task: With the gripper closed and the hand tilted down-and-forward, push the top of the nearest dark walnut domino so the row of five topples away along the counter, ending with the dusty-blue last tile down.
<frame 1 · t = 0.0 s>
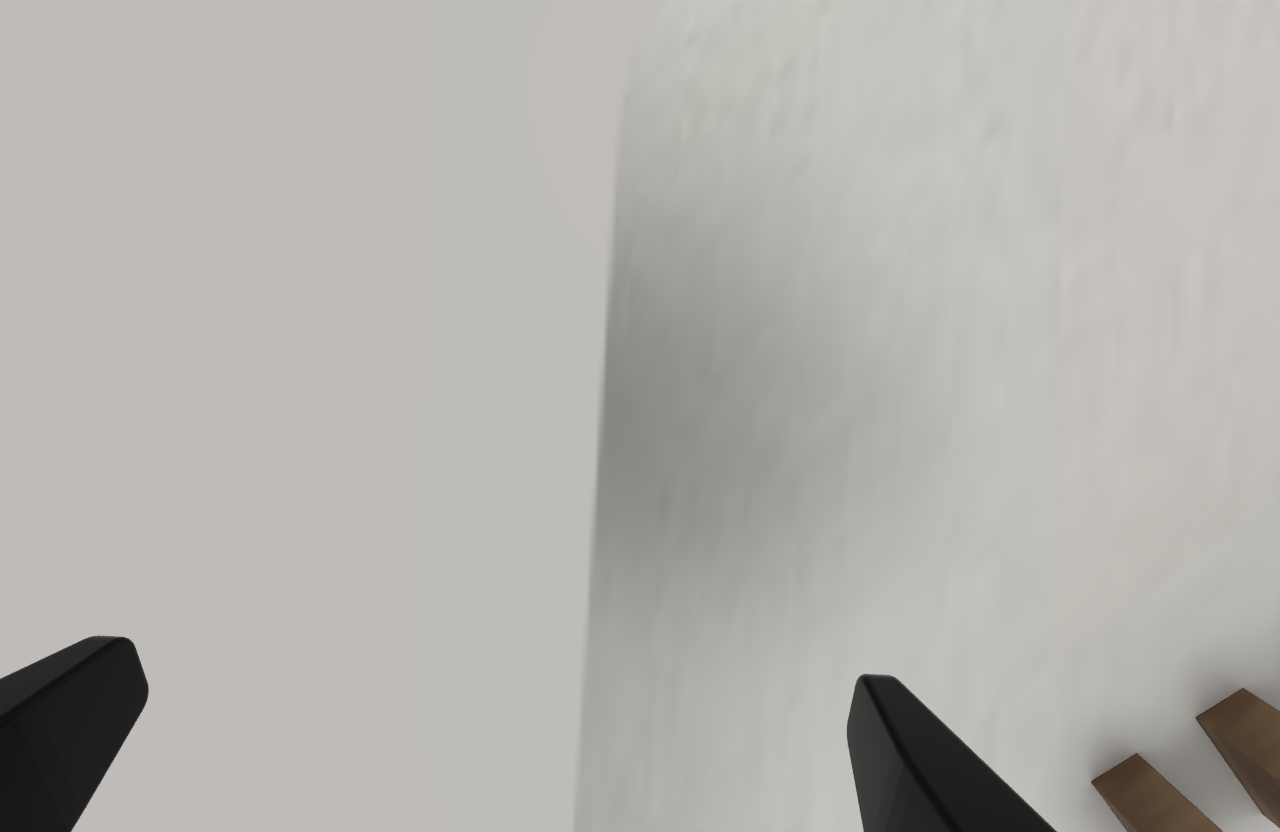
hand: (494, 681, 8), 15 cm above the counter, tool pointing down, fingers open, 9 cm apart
domino 2: (1253, 752, 25), on the counter
domino 1: (1148, 815, 25), on the counter
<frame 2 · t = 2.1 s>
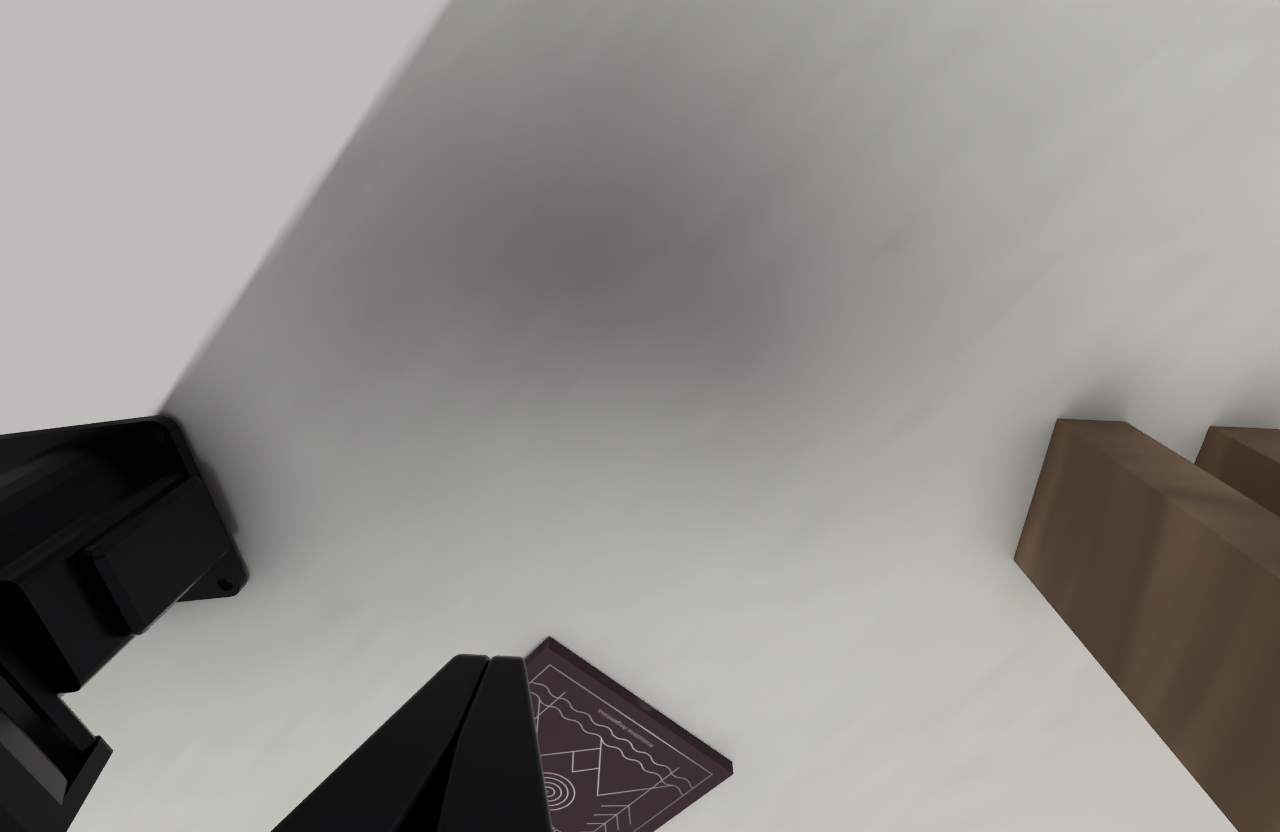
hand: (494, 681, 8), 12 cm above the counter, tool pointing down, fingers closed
domino 2: (1212, 501, 20), on the counter
chocolate bar: (502, 806, 28), on the counter
domino 1: (1066, 494, 20), on the counter
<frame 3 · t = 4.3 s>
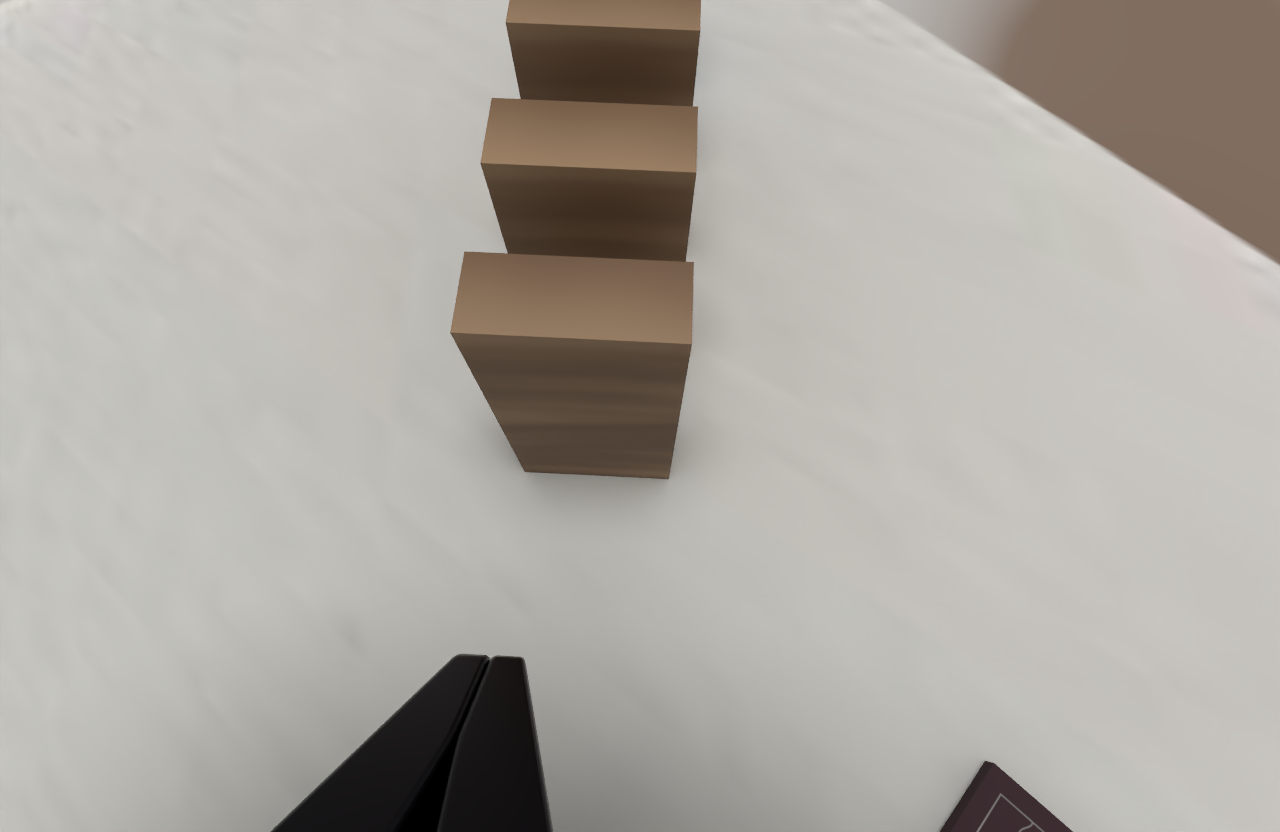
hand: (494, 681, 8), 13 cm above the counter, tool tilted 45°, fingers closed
domino 2: (607, 336, 25), on the counter
domino 3: (615, 235, 27), on the counter
domino 1: (598, 448, 23), on the counter
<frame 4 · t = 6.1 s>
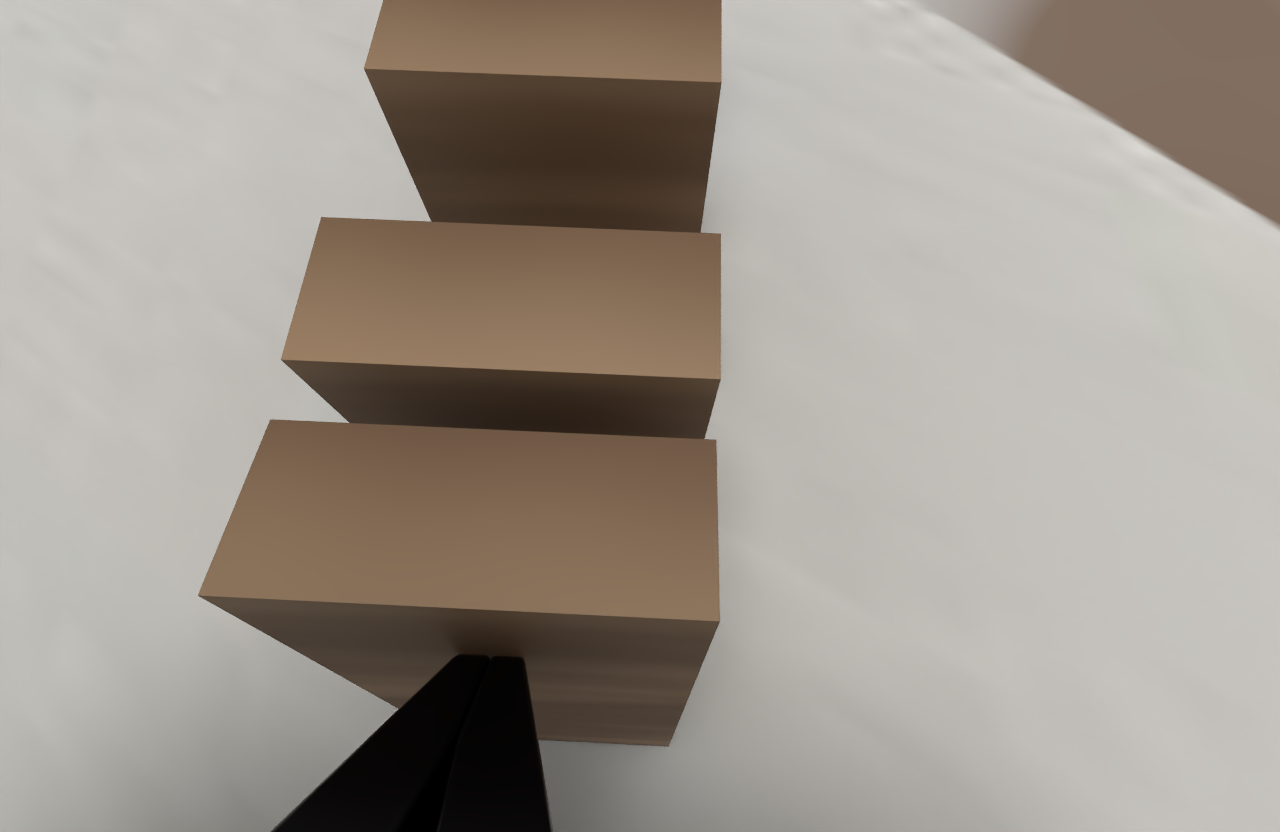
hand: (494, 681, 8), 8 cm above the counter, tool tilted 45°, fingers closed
domino 2: (578, 506, 17), on the counter
domino 3: (592, 349, 19), on the counter
domino 1: (561, 692, 15), on the counter, tilted 10°
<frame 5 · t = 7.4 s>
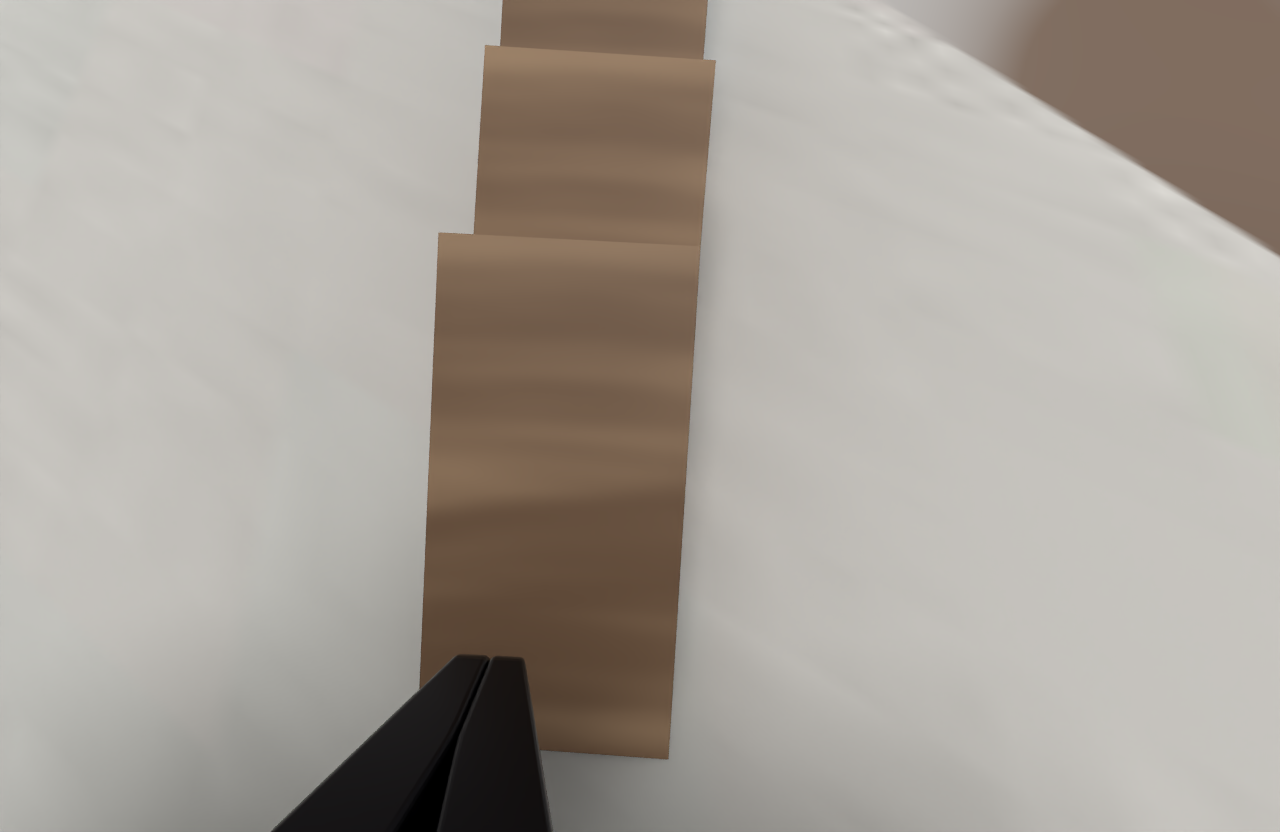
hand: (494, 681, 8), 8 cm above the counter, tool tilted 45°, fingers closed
domino 2: (573, 500, 16), point 1 cm above the counter, tilted 65°, touching domino 1, domino 3
domino 3: (588, 318, 18), point 1 cm above the counter, tilted 65°, touching domino 2, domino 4
domino 1: (550, 723, 14), point 1 cm above the counter, tilted 65°, touching domino 2
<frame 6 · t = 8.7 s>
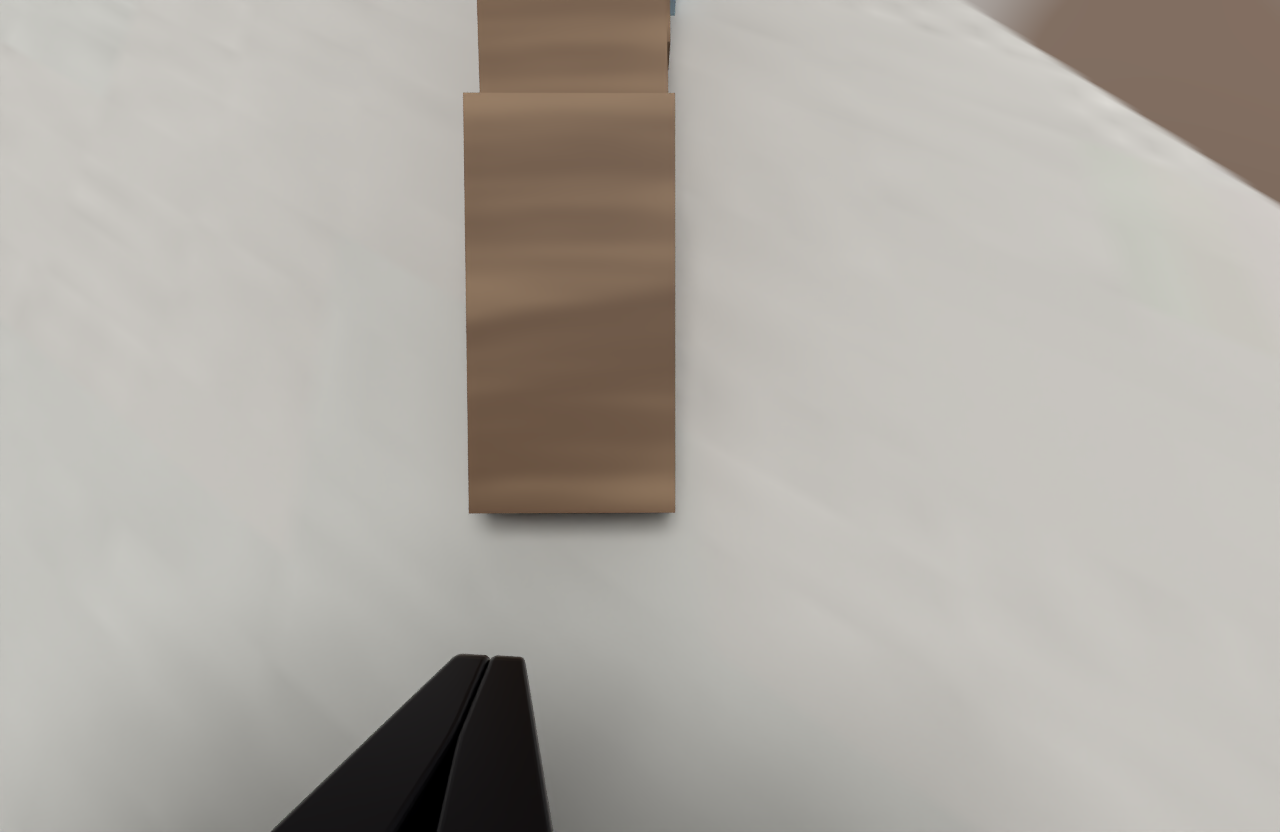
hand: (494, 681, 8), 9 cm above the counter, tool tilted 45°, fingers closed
domino 2: (582, 325, 19), point 1 cm above the counter, tilted 67°, touching domino 1, domino 3
domino 1: (575, 505, 17), point 1 cm above the counter, tilted 67°, touching domino 2
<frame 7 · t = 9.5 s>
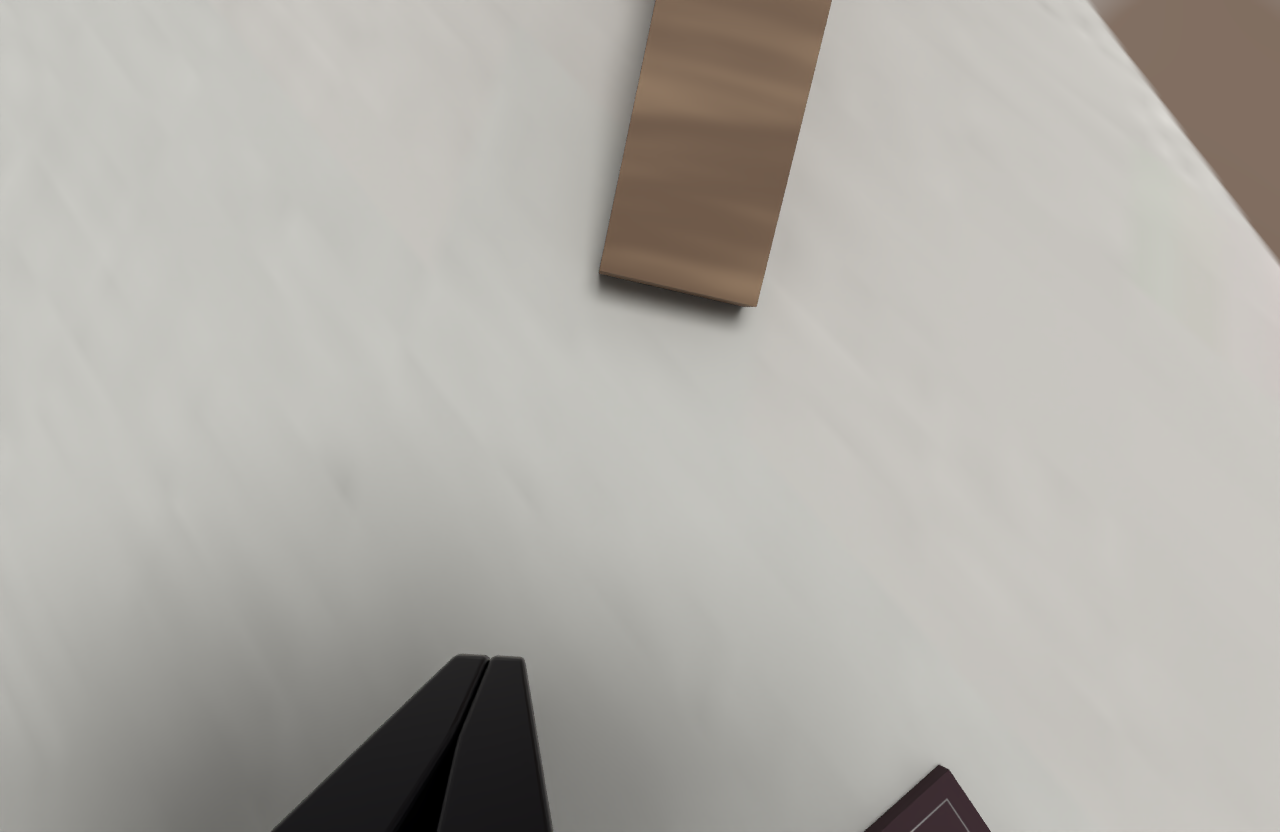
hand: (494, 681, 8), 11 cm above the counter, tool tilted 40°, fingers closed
domino 1: (674, 289, 21), point 1 cm above the counter, tilted 67°, touching domino 2
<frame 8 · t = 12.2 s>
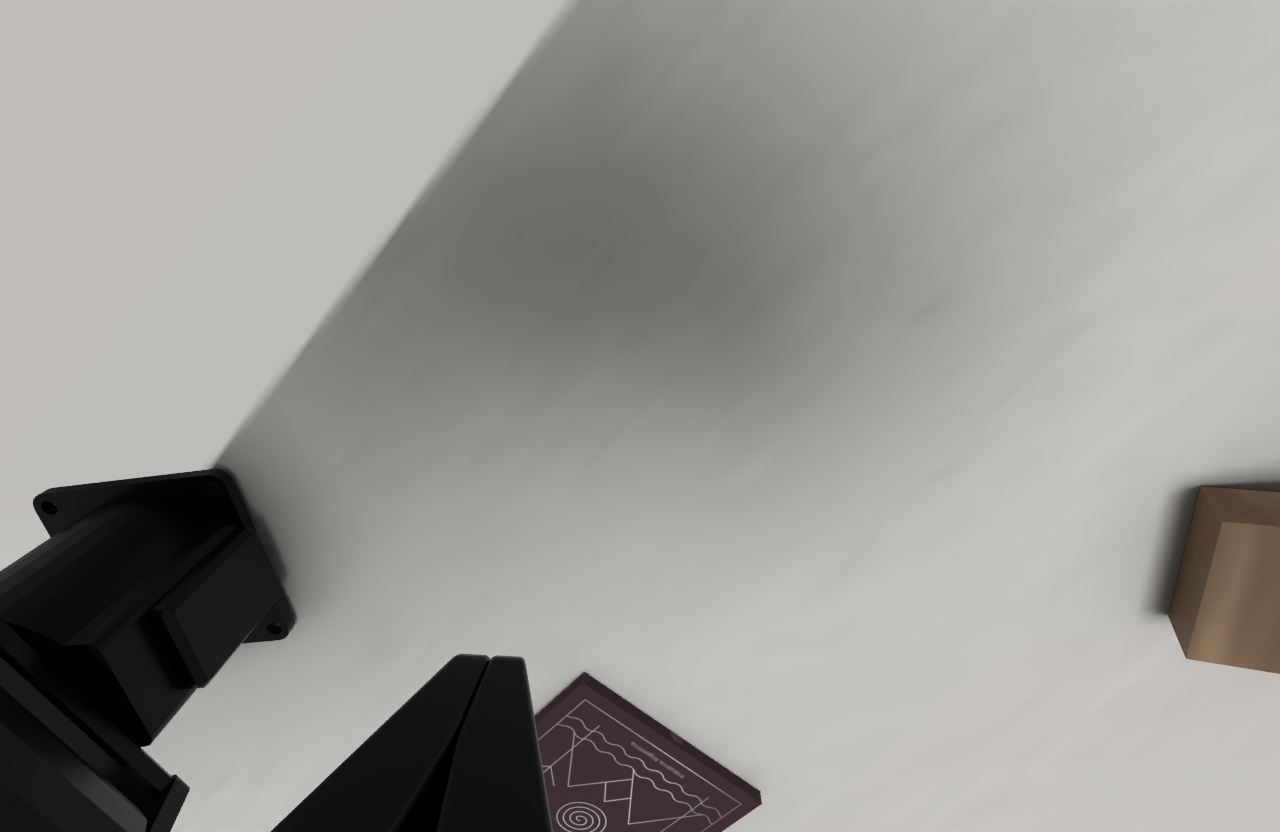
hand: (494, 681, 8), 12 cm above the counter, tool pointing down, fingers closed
domino 1: (1193, 573, 20), point 1 cm above the counter, tilted 69°, touching domino 2
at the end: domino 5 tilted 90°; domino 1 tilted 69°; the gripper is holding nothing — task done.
